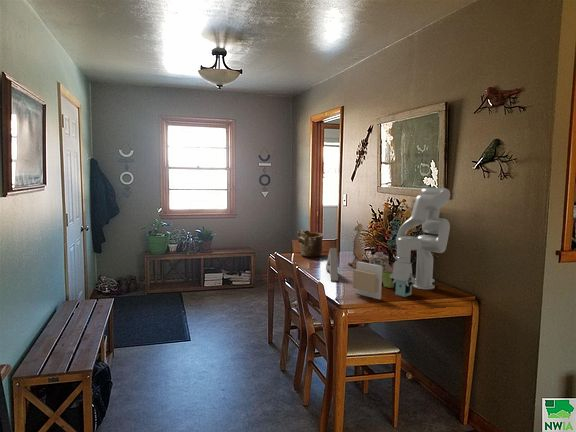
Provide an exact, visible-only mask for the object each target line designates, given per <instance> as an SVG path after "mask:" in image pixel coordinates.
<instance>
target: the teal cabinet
mask: <svg viewBox="0 0 576 432" xmlns="http://www.w3.org/2000/svg"><path fill="white" fill-rule="evenodd" d="M414 279H415V280H416V277H414ZM411 281H412V280H410V282H411ZM415 283H416V281H415V282H414V283H413V284H415ZM413 284H412V285H411V286H410V292H409V293H405V292H406V286H407V285H406V282H405V281H400V280H396V291H395V296H399V297H405V298H406V297H408V296H411V295H412V292H413V291H412V290H413Z"/></svg>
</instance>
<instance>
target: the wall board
mask: <svg viewBox="0 0 576 432" xmlns="http://www.w3.org/2000/svg"><path fill="white" fill-rule="evenodd" d="M352 274H353V278H352V289H355V290H354V291H355V292H354V293H355V294H358V295H360V296H364V297H367V298H368V297H369V298H371V299H375V300H381V299H382V284H383V283H382V266H379V265H374V264H369V262H368V263H367V262H363V261H362V262H359V261H358V262H357V263H356V268H355V269H353V271H352Z"/></svg>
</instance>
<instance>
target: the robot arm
mask: <svg viewBox="0 0 576 432" xmlns="http://www.w3.org/2000/svg"><path fill="white" fill-rule="evenodd" d="M450 198H451V192H450V190H449V189H448V188H445V187H424V188H422V189H421V190H420V194H418V195H417V196H416V197H415V200H414V202H413V207H412V210H411V214H410V217H409V218H408V219H407V220H406V221H405V222H403V224H402V225H401V226H400V227H399V229H398V231H397V234H396V237H395V238H396V239H395V246H396V256H394V260H395V261H394V263H393V268H392V271H393V273H392V274H390V278H391V279H392V281H393V283H394V287H393V291H396V280H400V281H405V282H406V285H407V286H406V292H405V293H409V292H410V286H411V285H412V288H415V289H419V290H433V289H435V285H434V284H433V283H434V282H435V281H436V280H435V279H434V278H433V273H434V256H433V254H432V253H437V254H442V253H444V252H445V251H446V250H447V245H448V242H449V241H448V240H449V235H450V230H451V224H450V222H449V220H448V219H446V218H442V217H441V218H440V214H441V213H440V212H441V208H443V207H444V206H445V205H446V204H447V203H448V202H449V200H450ZM420 225H421V230H422V232H423V233H427V234H420V235H418V236H412V235H406V234H407V233H408V231H410V230H411V229H412V228H414V227H418V226H420ZM429 234H430V235H429ZM431 234H433V235H431ZM437 235H438V236H437ZM412 251H416V266H415V267H416V268H415V277H414V276H413V268H412V267H413V265H412V262H411V252H412ZM414 278H415V279H414ZM410 280H412V281H411V282H410ZM414 282H415V284H413V283H414Z"/></svg>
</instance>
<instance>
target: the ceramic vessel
mask: <svg viewBox="0 0 576 432" xmlns="http://www.w3.org/2000/svg"><path fill="white" fill-rule="evenodd" d="M296 234H297V235H296V236H297V244H299V245H300V249H299V250H300V254H301V256H303V257H309V258H317V257H320V256H321V255H322V252H323V238H324V235H323V233H322V232H311V231H309V230H304V229H301V230H298V231H297V233H296Z"/></svg>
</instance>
